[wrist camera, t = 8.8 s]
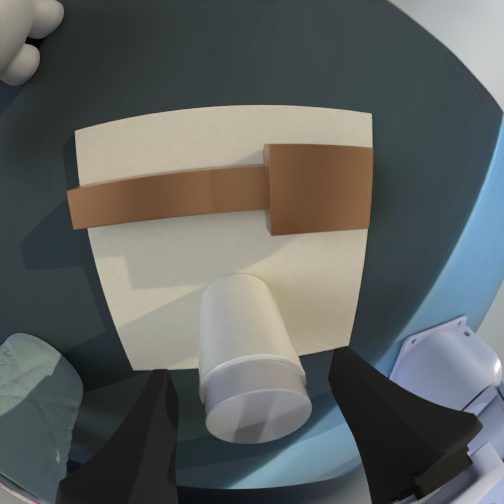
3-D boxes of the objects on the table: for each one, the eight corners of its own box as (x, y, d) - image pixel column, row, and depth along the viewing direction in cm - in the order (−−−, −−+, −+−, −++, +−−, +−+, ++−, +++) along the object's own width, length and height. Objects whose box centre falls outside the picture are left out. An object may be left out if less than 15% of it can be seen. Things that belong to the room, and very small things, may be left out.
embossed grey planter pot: (102, 413, 19) (84, 521, 8) (24, 392, 17) (-9, 477, 6) (69, 332, 15) (8, 475, 4) (-15, 314, 14) (-80, 406, 3)
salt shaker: (273, 269, 15) (325, 375, 8) (273, 330, 17) (310, 435, 10) (194, 276, 15) (188, 393, 7) (204, 337, 16) (209, 450, 9)
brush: (350, 145, 13) (373, 147, 11) (347, 216, 15) (369, 229, 12) (77, 167, 11) (54, 173, 9) (89, 239, 13) (71, 256, 11)
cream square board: (369, 114, 13) (372, 113, 13) (346, 343, 19) (348, 345, 19) (77, 131, 11) (74, 130, 11) (133, 367, 17) (133, 370, 17)
